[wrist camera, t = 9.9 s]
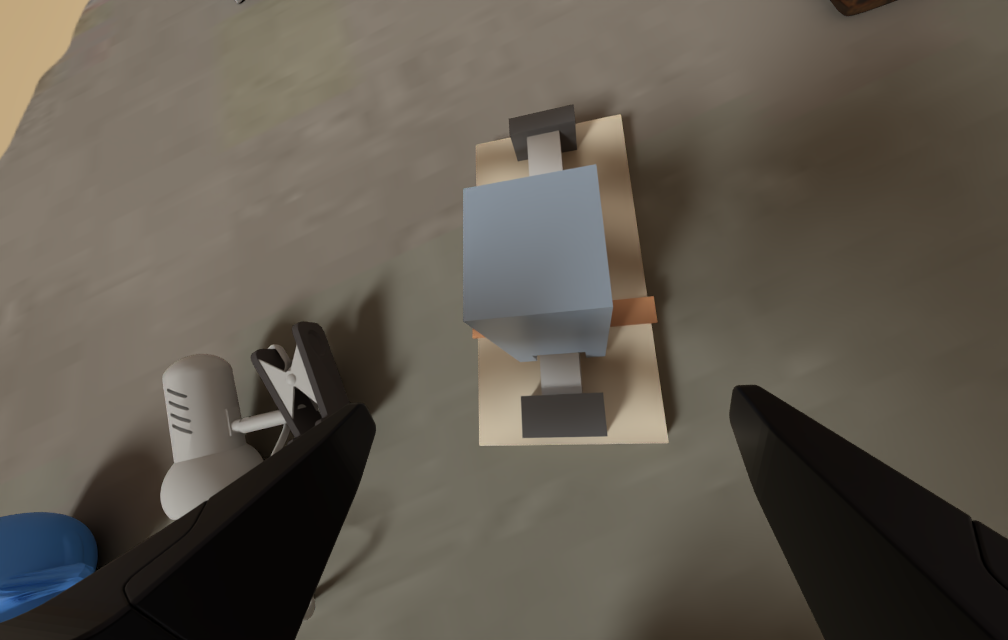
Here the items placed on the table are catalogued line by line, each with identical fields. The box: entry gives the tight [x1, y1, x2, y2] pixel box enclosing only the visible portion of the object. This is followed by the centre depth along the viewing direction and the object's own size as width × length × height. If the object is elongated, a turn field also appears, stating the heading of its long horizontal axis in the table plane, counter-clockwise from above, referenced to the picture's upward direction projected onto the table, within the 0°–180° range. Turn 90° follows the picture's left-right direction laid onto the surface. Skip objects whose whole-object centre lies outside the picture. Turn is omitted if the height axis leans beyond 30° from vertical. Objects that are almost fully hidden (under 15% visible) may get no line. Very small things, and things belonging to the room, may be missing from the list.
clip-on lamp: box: [160, 322, 350, 621], centre depth 22 cm, size 12×6×18 cm
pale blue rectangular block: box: [463, 164, 613, 362], centre depth 16 cm, size 5×5×9 cm
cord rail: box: [473, 105, 669, 446], centre depth 21 cm, size 20×11×4 cm, turn 2°
